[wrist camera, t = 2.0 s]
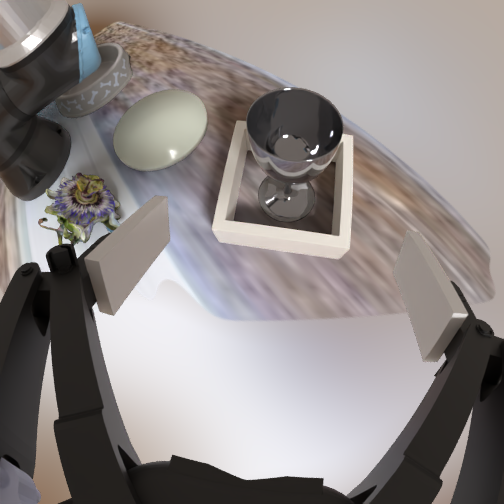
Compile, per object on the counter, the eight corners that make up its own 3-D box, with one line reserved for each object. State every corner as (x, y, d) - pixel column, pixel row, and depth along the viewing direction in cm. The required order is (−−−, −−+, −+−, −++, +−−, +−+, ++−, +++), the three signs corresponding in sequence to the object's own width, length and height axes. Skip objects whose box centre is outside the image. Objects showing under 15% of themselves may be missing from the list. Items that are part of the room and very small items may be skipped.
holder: (219, 242, 35) (211, 229, 30) (240, 142, 38) (236, 120, 34) (338, 259, 34) (349, 249, 29) (344, 156, 37) (352, 135, 32)
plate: (103, 170, 39) (99, 166, 38) (135, 96, 42) (133, 92, 41) (193, 174, 38) (191, 170, 37) (217, 94, 41) (216, 89, 40)
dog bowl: (130, 45, 48) (122, 29, 42) (137, 91, 43) (127, 71, 38) (64, 80, 47) (54, 66, 42) (59, 133, 43) (45, 118, 38)
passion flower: (130, 220, 43) (139, 215, 32) (81, 268, 39) (74, 280, 29) (86, 166, 39) (82, 144, 28) (36, 215, 35) (16, 208, 25)
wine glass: (321, 174, 37) (345, 96, 22) (313, 231, 35) (340, 170, 20) (262, 163, 38) (257, 81, 23) (248, 218, 36) (235, 151, 21)
